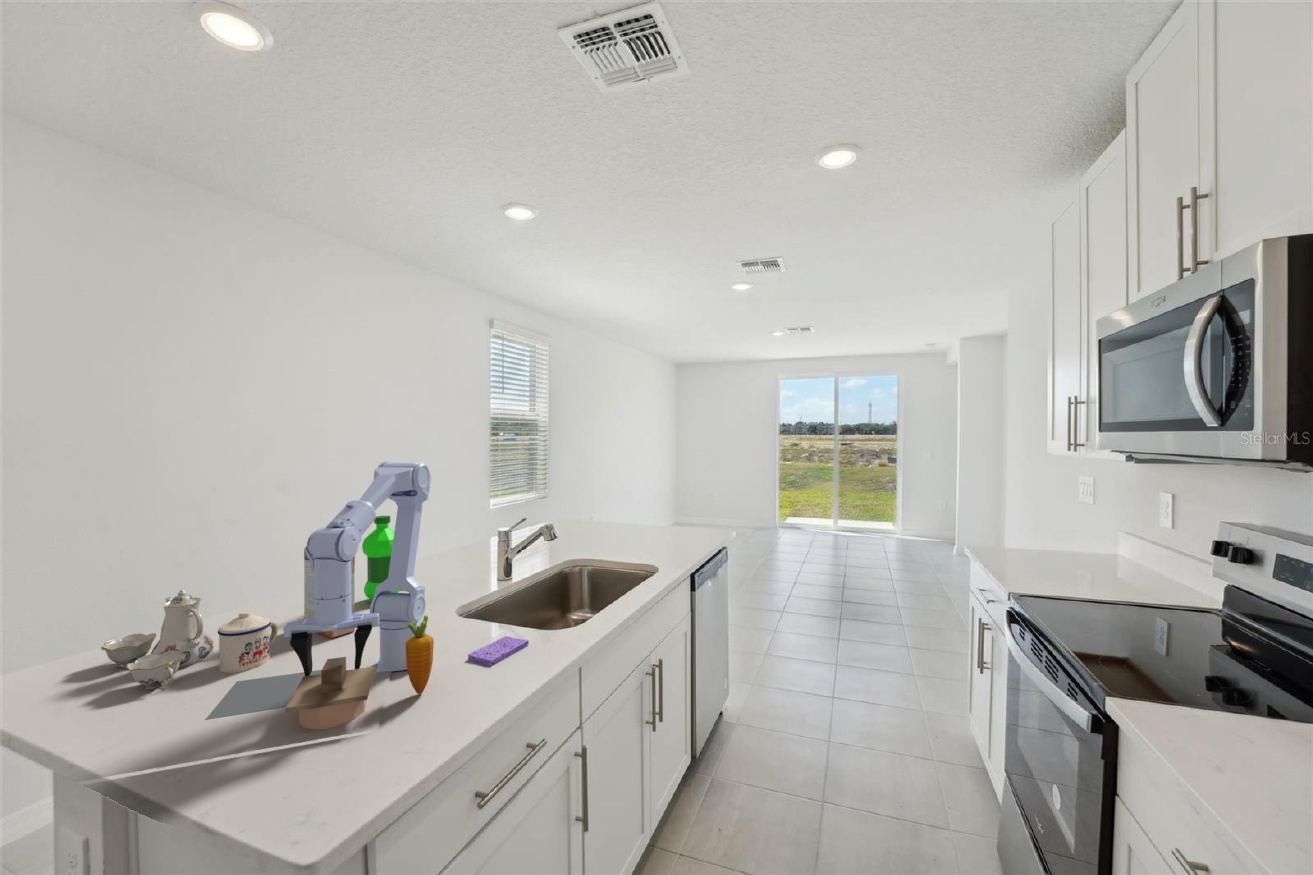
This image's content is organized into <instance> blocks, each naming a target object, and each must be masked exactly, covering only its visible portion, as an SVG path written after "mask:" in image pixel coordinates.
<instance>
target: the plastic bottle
mask: <svg viewBox="0 0 1313 875" xmlns="http://www.w3.org/2000/svg"><path fill="white" fill-rule="evenodd" d="M373 523H374V525H375V526H376V527H375V529H374V530H373V531H372V532H370V533H369V534H368V535H367V536H366V537H365V538H364V539H363V541H362V545H361V546H362V547H361V548H362V553H363V554H364V555H365V556H367V557H366V558H367V562H366V563H367V568H366V569H367V581H366V582H365V584H364V587H363V593H364V595H365V597H367V599H369V600H370V601H372V600H373V598H374V595H375V591H376V587H377V586H378V585H380V584H381V583H382V582H384V581H385V580H386V579H387V578H388V575H389V568H390V560H391V553H392V546H393V539H394V531H395V530H393V529H391V528H389V524H390V523H391V515H378V516H377V515H376V518H375V520H374V521H373ZM390 593H400V591H392V592H390Z"/></svg>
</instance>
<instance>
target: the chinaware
mask: <svg viewBox="0 0 1313 875" xmlns="http://www.w3.org/2000/svg"><path fill="white" fill-rule="evenodd" d="M164 599H165V603H163V604H162V605H161V607H163V609H164V610H163V611H164V614H165V615H164V618H163V622H162V626H161V629H160V634H159V640H158V641H157V643H156V644H155V645H154V647H153V648H152V645H153V643H154V640H155V639H156V638H157V633H154V632H152V633H149V634H147V635H146V634H143V633H133V634H129V635H126V636H125V637H123V638H113V639H108V640H107V641H106V642H104V644H103V646H102V645H101V647H100V650H102V651H105V652H106V653H105V654H106V655H107V657H108V659H109V660H110V661H111V662H113V663H115V664H119V665H118V667H120V665H121V667H120V668H125V669H126V670H128V671H129V672H130V673H131V675H132V678H133V680H134V681H135V682H136V683H138V684H140V685H142V686H146V688H145V690H152V689H154V690H156V689H157V688H159V687H160V686H161V687H164V686H167V684H168V685H170V684H172V683H173V682H174V678H175V676H174V675H175V674H176V673H177V671H178V670H179V669H180V668H185V667H188V666H191V665H194V664H197V663H203V662H206V661H207V660H208V659H209V657H208V656H209V654H210V653H212V651H213V649H214V640H213V638H212V637H211V636H210V635H209V634H208V633H207V632H206V631H205V629H204V621H203V617H202V614H201V612H200V610H199V609H200V608H199V607H200V604H201V601H202V598H201V597H193V596H192V595H191V594H189V593H187V591H185V589H183V588H182V589H181V590H179V592H178V593H177V595H176V596H174V597H173V598H172V597H171V596H169V597H165V598H164ZM151 648H152V650H151ZM150 650H151V652H150ZM149 652H150V654H148V653H149ZM168 680H169V681H168Z"/></svg>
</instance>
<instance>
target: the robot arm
mask: <svg viewBox="0 0 1313 875" xmlns="http://www.w3.org/2000/svg"><path fill="white" fill-rule="evenodd" d="M373 472H374V473H373V481H372V482H371V483H370V485H369V486H368V488H367V489H366V490H365V492H364V493H363V494H362V496H361V497H360V499H359V500H351V501H348V502H346V503H345V506H344V507H343V508H342V509H341V510H340V511H339V512H338V514H336V515H335V517H334V518H332V520H331V521H330V522H329V523H328V524H327V525H326V526H325V527H319V528H318V529H316V530H315V531H313V532H312V533H311V534H310V535H309V537H308V539H307V542H306V546H305V547H304V548H305V552H306V555H307V557H308V558H309V560H310V568H311V569H312V570H313V571H314V618H312V619H307V620H304V619H303V620H297V621H290V622H286V623H285V625H284V626H283V637H284V638H290V641H289V644H290V647H291V648H292V649H293V650H294V652H295V654H296V655H297V657H298V659H299V660H300V663H301V666H302V669H303V672H304V674H305V677H306V676H310V674H311V672H312V671H313V656H312V655H313V654H312V651H313V650H312V649H313V648H312V647H313V635H314V634H315V633H318V632H325V631H333V630H342V629H351V628H355V629H356V630H355V631H354V632H353V633H354V647H355V650H354V651H355V653H354V655H355V656H354V669H355V670H356V669H361V665H362V658H363V653H364V649H365V646H366V644H367V641H368V639H369V636H370V634H371V633H372V629H373V628H377V627H378V628H379V660H378V663H377V666H376V671H375V674H376V673H384V672H385V673H386V672H398V671H406V670H407V664H406V642H407V641H408V640H409V639H410V638H411V637H412V636H414V634H413V632H412V631H411V629H410V628H409V627H408V623H410V622H411V621H412V622H413V623H414V625H415V627H416V630H417V626H419V627H420V624H421V623H422V621H423V620H421V619H422V618H423V617H424V615H425V614H424V613H425V611H426V599H425V592H426V589H425V587H424V585H423V584H422V583H420V581H418V580H417V579H416V578H415V576H414V575H415V570H416V569H415V568H416V562H417V554H418V545H419V539H420V530H421V522H422V513H423V507H424V506H423V504H424V502H425V501H427V500H429V494H430V488H431V480H432V474H431V472H430V469H429V467H428V465H427V464H426V463H425V462H423V461H420V462H389V461H382V462H381V463H380V464H378V466H377V467H376V468H375V469H374V471H373ZM387 499H389V500H391V501H393V502H395V504H396V506H397V511H396V519H395V526H394V530H393V531H394V539H393V546H392V553H391V560H390V568H389V575H388V578H387V579H386V580H385V581H384V582H382V583H381V584H380V585H378V586H377V587H376V591H375V595H374V598H373V600H371V602H370V606H369V613H355V614H352V601H351V599H352V598H351V559H352V558H353V557H354V556H355V557H356V555H357V554H358V551H359V548H360V543H361V541H362V539H363V537H362V536H363V534H364V533H366V531H367V530H368V528H369V527H371V525H372V524H373V523H374V520H375V518H376V516H377V515H376V514H377V513H376V510H377V509H378V508H379V507H380V506H381V505H382V504H383V503H385V501H386V500H387ZM392 591H399V592H398V593H390V592H392ZM405 592H406V593H405ZM417 633H418V632H417ZM424 634H427V628H426V629H425V631H424ZM407 671H408V670H407Z"/></svg>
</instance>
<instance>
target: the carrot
mask: <svg viewBox="0 0 1313 875" xmlns="http://www.w3.org/2000/svg"><path fill="white" fill-rule="evenodd" d="M428 620H429V616H428V615H425V614H424V615H423V619H422V620H421V621H422V623H421V624H420V627H419V626H417V630H416V627H415V625H414V623H413V622H412V621H411V622H410V623H408V627H409V628H410V629H411V631H412V632H413V634H414V636H412V637H411V638H410V639H409V640H408V641H407V642H406V664H407V674H408V677H409V678H408V679H409V681H410V683H411V684H410V685H411V686H412V688H413V689H414V692H415V693H417V695H422V693H424V691H425V688H426V686H427V684H428V682H429V680H430V677H431V671H432V667H433V666H432V665H433V661H434V638H433V636H431V634H430V635H429V634H428V633H426V634H424V631H425V629H426V630H427V626H428V625H427V624H428ZM417 632H418V633H417Z"/></svg>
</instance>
